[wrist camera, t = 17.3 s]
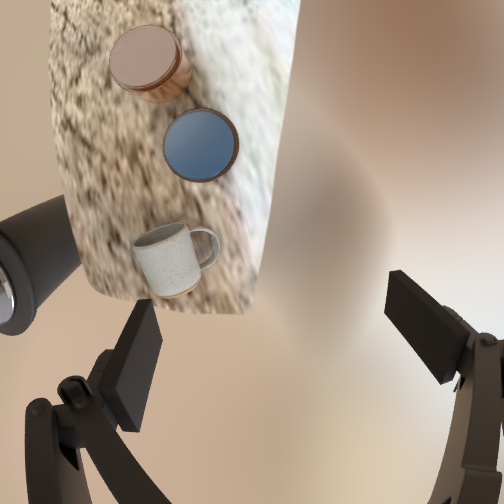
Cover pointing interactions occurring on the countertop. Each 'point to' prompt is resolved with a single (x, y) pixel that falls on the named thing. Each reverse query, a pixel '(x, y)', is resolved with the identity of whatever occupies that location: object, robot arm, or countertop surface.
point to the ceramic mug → (172, 258)
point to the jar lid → (199, 145)
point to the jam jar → (151, 64)
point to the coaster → (235, 149)
